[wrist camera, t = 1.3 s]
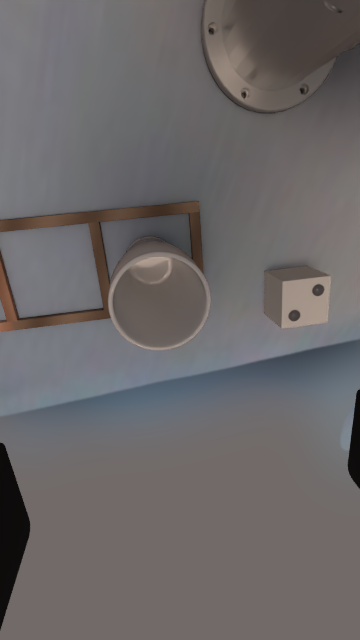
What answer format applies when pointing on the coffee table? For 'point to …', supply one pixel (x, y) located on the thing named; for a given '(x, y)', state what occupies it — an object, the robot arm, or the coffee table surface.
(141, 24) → the coffee table surface
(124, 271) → the drinking glass
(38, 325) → the copper window frame
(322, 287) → the die
